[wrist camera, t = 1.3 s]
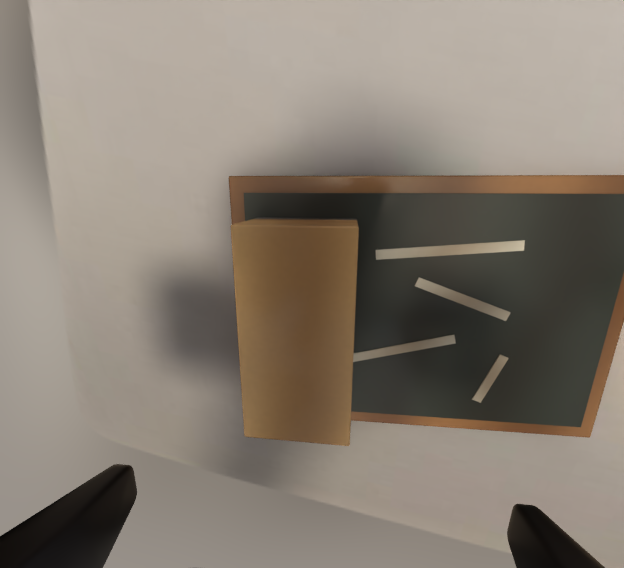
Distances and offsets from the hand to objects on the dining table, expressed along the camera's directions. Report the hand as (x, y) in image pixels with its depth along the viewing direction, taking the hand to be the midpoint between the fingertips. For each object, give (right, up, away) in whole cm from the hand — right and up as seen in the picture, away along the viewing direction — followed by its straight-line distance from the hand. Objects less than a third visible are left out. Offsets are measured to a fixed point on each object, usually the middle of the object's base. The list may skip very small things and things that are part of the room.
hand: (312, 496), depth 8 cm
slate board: (+6, +4, +10) cm, 12 cm away
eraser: (0, +4, +10) cm, 11 cm away
